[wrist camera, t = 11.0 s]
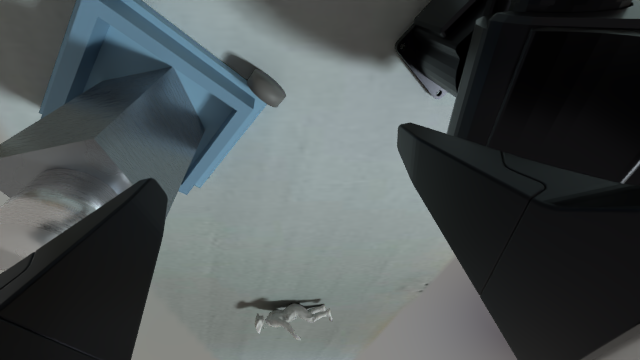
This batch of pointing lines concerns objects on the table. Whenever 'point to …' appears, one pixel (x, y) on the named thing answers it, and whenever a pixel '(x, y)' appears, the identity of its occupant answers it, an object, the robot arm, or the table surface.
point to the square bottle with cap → (94, 156)
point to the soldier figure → (292, 317)
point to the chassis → (152, 54)
